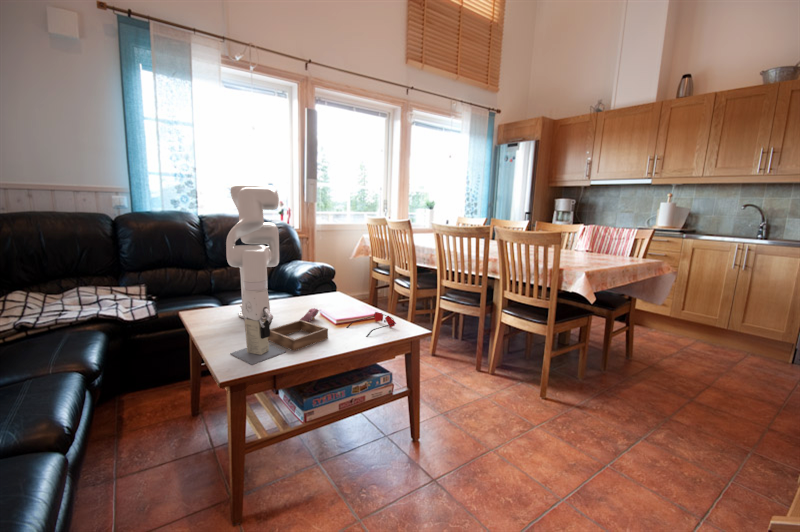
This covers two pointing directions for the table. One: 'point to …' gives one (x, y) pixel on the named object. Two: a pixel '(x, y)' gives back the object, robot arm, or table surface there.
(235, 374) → the table surface
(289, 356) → the table surface
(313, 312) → the pink animal figurine
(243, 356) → the grey mat
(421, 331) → the table surface
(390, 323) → the glasses
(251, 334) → the skincare box
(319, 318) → the table surface
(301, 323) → the walnut box
